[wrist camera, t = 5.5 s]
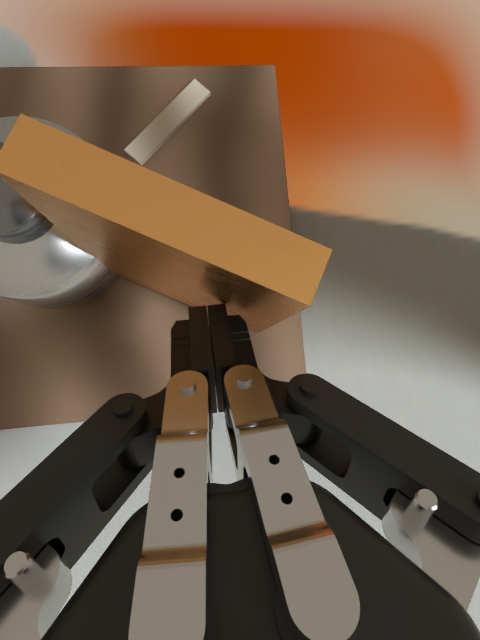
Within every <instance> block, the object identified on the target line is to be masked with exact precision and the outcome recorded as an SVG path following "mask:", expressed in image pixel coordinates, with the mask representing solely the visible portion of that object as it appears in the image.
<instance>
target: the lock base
mask: <svg viewBox="0 0 480 640" xmlns="http://www.w3.org/2000/svg"><path fill="white" fill-rule="evenodd" d="M20 114H23V115H26V116H28V117H34V118H39V119H43V120H47V121H50V122H53V123H56V124H58V125H60V126H62V127H64V128H66V129H68V130H70V131H71V132H73V133H74V134H76V135H77V136H79V137H80V138H81V139H82V140H83V141H85V142H88V143H90V144H92V145H94V146H97V147H99V148H101V149H104V150H106V151H108V152H110V153H113V154H115V155H117V156H120V157H122V158H124V159H126V160H129V161H131V162H133V163H136V164H138V165H140V166H142V167H145V168H147V169H149V170H152V171H154V172H156V173H159V174H161V175H163V176H165V177H168V178H170V179H172V180H175V181H177V182H179V183H181V184H184V185H186V186H188V187H191V188H193V189H195V190H197V191H200V192H202V193H204V194H207V195H209V196H211V197H213V198H216V199H218V200H220V201H223V202H225V203H227V204H229V205H232V206H234V207H236V208H239V209H241V210H243V211H245V212H248V213H250V214H252V215H255V216H257V217H259V218H261V219H264V220H266V221H268V222H271V223H273V224H275V225H278V226H280V227H282V228H284V229H287V230H289V231H291V232H292V230H291V220H290V210H289V200H288V191H287V180H286V171H285V161H284V151H283V141H282V131H281V121H280V111H279V102H278V92H277V82H276V72H275V65H253V66H251V65H243V66H242V65H238V66H130V67H129V66H128V67H127V66H123V67H8V68H0V117H9V116H19V115H20ZM188 307H193V306H190V305H188V304H186V303H183V302H181V301H179V300H176V299H174V298H171V297H169V296H167V295H164V294H162V293H160V292H157V291H155V290H153V289H150V288H148V287H145V286H143V285H141V284H138V283H136V282H134V281H131V280H129V279H127V278H124V277H122V276H119V275H118V276H117V277H116V278H115V280H114V281H113V282H112V283H111V284H110V285H109V286H108V287H107V288H106V289H105V290H103V291H102V292H101V293H100V294H98V295H96V296H95V297H93V298H91V299H89V300H87V301H85V302H83V303H80V304H77V305H73V306H69V307H63V308H40V307H35V306H31V305H27V304H24V303H21V302H18V301H14V300H11V299H8V298H4V297H1V296H0V430H1V429H12V428H22V427H32V426H42V425H53V424H63V423H73V422H83V421H86V420H87V419H88V418H90V417H91V416H92V415H93V414H94V413H95V412H96V411H97V410H98V409H99V408H100V407H101V406H103V405H104V404H105V403H106V402H107V401H108V400H109V399H111V398H112V397H114V396H116V395H119V394H123V393H134V394H137V395H139V396H141V397H142V398H143V399H144V398H147V397H149V396H152V395H154V394H157V393H158V392H160V391H161V390H163V389H164V388H165V387H166V386H167V383H168V381H169V380H170V377H171V328H172V327H173V325H174V323H175V322H176V321H177V320H188V319H189V312H188ZM207 317H208V313H207ZM208 325H209V323H208ZM248 331H249V330H248ZM249 335H250V340H251V343H252V347H253V350H254V354H255V358H256V362H257V366H258V368H259V370H260V371H261V372H262V373H263V374H264V375H265V376H267V377H268V378H271V379H273V380H278V381H284V382H289V381H290V380H291V379H292V378H293V377H294V376H296V375H299V374H306V368H305V358H304V348H303V338H302V328H301V318H300V312H298V313H296V314H294V315H292V316H290V317H289V318H287V319H285V320H283V321H281V322H279V323H277V324H275V325H273V326H271V327H269V328H267V329H265V330H264V331H262V332H260V333H258V334H256V333H254V332H252V331H249ZM215 390H216V387H215ZM216 405H217V408H218V403H217V395H216Z"/></svg>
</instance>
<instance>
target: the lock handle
mask: <svg viewBox="0 0 480 640" xmlns="http://www.w3.org/2000/svg"><path fill="white" fill-rule="evenodd" d="M331 252H332V249H330V248H328V247H326V246H323V245H321V244H319V243H316V242H314V241H312V240H310V239H307V238H305V237H303V236H300V235H298V234H296V233H294V232H291V231H289V230H287V229H284V228H282V227H280V226H278V225H275V224H273V223H271V222H268V221H266V220H264V219H261V218H259V217H257V216H255V215H252V214H250V213H248V212H245V211H243V210H241V209H239V208H236V207H234V206H232V205H229V204H227V203H225V202H223V201H220V200H218V199H216V198H213V197H211V196H209V195H207V194H204V193H202V192H200V191H197V190H195V189H193V188H191V187H188V186H186V185H184V184H181V183H179V182H177V181H175V180H172V179H170V178H168V177H165V176H163V175H161V174H159V173H156V172H154V171H152V170H149V169H147V168H145V167H142V166H140V165H138V164H136V163H133V162H131V161H129V160H126V159H124V158H122V157H120V156H117V155H115V154H113V153H110V152H108V151H106V150H104V149H101V148H99V147H97V146H94V145H92V144H90V143H88V142H85V141H83V140H82V139H81V138H80V137H79V136H77V135H76V134H74V133H73V132H71V131H70V130H68V129H66V128H64V127H62V126H60V125H58V124H56V123H53V122H50V121H47V120H43V119H39V118H34V117H28V116H26V115H23V114H20V115H19V116H9V117H0V296H1V297H4V298H8V299H11V300H14V301H18V302H21V303H24V304H27V305H31V306H35V307H40V308H63V307H69V306H73V305H77V304H80V303H83V302H85V301H87V300H89V299H91V298H93V297H95V296H96V295H98V294H100V293H101V292H102V291H103V290H105V289H106V288H107V287H108V286H109V285H110V284H111V283H112V282H113V281H114V280H115V278H116V277H117V276H118V275H119V276H122V277H124V278H127V279H129V280H131V281H134V282H136V283H138V284H141V285H143V286H145V287H148V288H150V289H153V290H155V291H157V292H160V293H162V294H164V295H167V296H169V297H171V298H174V299H176V300H179V301H181V302H183V303H186V304H188V305H190V306H193V307H194V306H205V305H206V309H207V305H215V304H225V305H226V310H227V315H228V316H231V315H240V316H241V317H242V318H243V319H244V320H245V321H246V323H247V327H248V330H249V331H252V332H254V333H256V334H258V333H260V332H262V331H264V330H265V329H267V328H269V327H271V326H273V325H275V324H277V323H279V322H281V321H283V320H285V319H287V318H289V317H290V316H292V315H294V314H296V313H298V312H300V311H302V310H304V309H306V308H308V307H310V306H311V303H312V301H313V298H314V296H315V293H316V291H317V288H318V285H319V283H320V280H321V278H322V275H323V273H324V270H325V268H326V265H327V262H328V260H329V257H330V255H331ZM207 313H208V309H207Z"/></svg>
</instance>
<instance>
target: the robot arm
mask: <svg viewBox="0 0 480 640" xmlns="http://www.w3.org/2000/svg"><path fill="white" fill-rule="evenodd" d="M207 309H208V317H207ZM207 309H206V305H205V306H194V307H188V312H189V319H188V320H177V321H176V322H175V323H174V325H173V327H172V328H171V377H170V380H169V381H168V383H167V386H166V387H165V388H164V389H163V390H161V391H160V392H158V393H157V394H154V395H152V396H149V397H147V398H144V399H143V398H142V397H141V396H139V395H137V394H134V393H123V394H119V395H116V396H114V397H112V398H111V399H109V400H108V401H107V402H106V403H105V404H104V405H103V406H101V407H100V408H99V409H98V410H97V411H96V412H95V413H94V414H93V415H92V416H91V417H90V418H88V419H87V420H86V421H85V422H84V423H83V424H82V425H81V426H80V427H79V428H78V429H77V430H76V431H74V432H73V433H72V434H71V435H70V436H69V437H68V438H67V439H66V440H65V441H64V442H63V443H61V444H60V445H59V446H58V447H57V448H56V449H55V450H54V451H53V452H52V453H51V454H50V455H49V456H47V457H46V458H45V459H44V460H43V461H42V462H41V463H40V464H39V465H38V466H37V467H36V468H35V469H33V470H32V471H31V472H30V473H29V474H28V475H27V476H26V477H25V478H24V479H23V480H22V481H20V482H19V483H18V484H17V485H16V486H15V487H14V488H13V489H12V490H11V491H10V492H9V493H8V494H6V495H5V496H4V497H3V498H2V499H1V500H0V640H480V632H479V630H478V628H477V626H476V625H475V623H474V621H473V620H472V618H471V617H470V615H469V614H468V613H467V609H468V606H469V604H470V601H471V598H472V596H473V593H474V591H475V588H476V585H477V583H478V580H479V577H480V473H478V472H477V471H475V470H473V469H472V468H470V467H468V466H467V465H465V464H464V463H462V462H460V461H459V460H457V459H455V458H454V457H452V456H450V455H449V454H447V453H445V452H444V451H442V450H440V449H439V448H437V447H435V446H434V445H432V444H430V443H429V442H427V441H425V440H424V439H422V438H420V437H419V436H417V435H415V434H414V433H412V432H410V431H409V430H407V429H405V428H404V427H402V426H400V425H399V424H397V423H395V422H394V421H392V420H390V419H389V418H387V417H385V416H384V415H382V414H380V413H379V412H377V411H375V410H374V409H372V408H370V407H369V406H367V405H365V404H364V403H362V402H360V401H359V400H357V399H355V398H354V397H352V396H350V395H349V394H347V393H345V392H344V391H342V390H340V389H339V388H337V387H335V386H334V385H332V384H330V383H329V382H327V381H325V380H324V379H322V378H320V377H319V376H316V375H313V374H299V375H296V376H294V377H293V378H292V379H291V380H290V381H289V382H284V381H278V380H273V379H271V378H268V377H267V376H265V375H264V374H263V373H262V372H261V371H260V370H259V368H258V366H257V362H256V358H255V354H254V350H253V347H252V343H251V340H250V335H249V331H248V327H247V323H246V321H245V320H244V319H243V318H242V317H241V316H240V315H231V316H228V315H227V310H226V305H225V304H215V305H207ZM208 323H209V325H208ZM215 387H216V390H215ZM216 395H217V403H218V411H219V412H225V419H226V432H227V436H228V441H229V445H230V449H231V454H232V458H233V462H234V467H235V471H236V476H237V482H234V483H232V484H217V483H213V468H212V428H213V416H212V413H217V405H216ZM301 459H302V460H304V461H305V462H306V463H308V464H309V465H310V466H312V467H313V468H314V469H315V470H317V471H318V472H319V473H321V474H322V475H323V476H325V477H326V478H327V479H328V480H330V481H331V482H332V483H334V484H335V485H336V486H338V487H339V488H340V489H341V490H343V491H344V492H345V493H347V494H348V495H349V496H351V497H352V498H353V499H354V500H356V501H357V502H358V503H360V504H361V505H362V506H364V507H365V508H366V509H367V510H369V511H370V512H371V513H373V514H374V515H375V516H377V517H378V518H379V519H380V520H382V528H383V531H384V534H385V536H386V538H387V540H388V541H387V540H386V539H385V538H384V537H383V536H381V535H380V534H379V533H378V532H377V531H375V530H374V529H373V528H372V527H371V526H370V525H368V524H367V523H366V522H365V521H364V520H362V519H361V518H360V517H359V516H358V515H356V514H355V513H354V512H353V511H352V510H351V509H349V508H348V507H347V506H346V505H345V504H343V503H342V502H341V501H340V500H339V499H337V498H336V497H335V496H334V495H333V494H331V493H330V492H329V491H328V490H326V489H325V488H323V487H321V486H320V485H318V484H316V483H314V482H311V481H309V478H308V475H307V473H306V470H305V468H304V465H303V463H302V460H301ZM152 468H153V469H152ZM151 469H152V477H151V485H150V493H149V501H148V503H147V504H145V505H144V506H143V507H141V508H140V509H139V510H138V511H136V512H135V513H134V514H133V515H132V516H131V517H130V519H129V520H128V521H127V522H126V523H125V525H124V526H123V527H122V529H121V530H120V531H119V533H118V534H117V535H116V537H115V538H114V540H113V541H112V542H111V544H110V545H109V546H108V548H107V549H106V551H105V552H104V553H103V555H102V556H101V557H100V559H99V560H98V562H97V563H96V564H95V566H94V567H93V568H92V570H91V571H90V573H89V574H88V575H87V577H86V578H85V579H84V581H83V582H82V584H81V585H80V586H79V588H78V589H77V590H76V592H75V593H74V595H73V596H72V597H71V599H70V600H69V601H68V603H67V604H66V606H65V607H64V608H63V610H62V611H61V612H60V614H59V611H60V610H61V608H62V606H63V605H64V603H65V602H66V600H67V598H68V596H69V593H70V590H71V586H72V575H71V571H70V569H71V568H72V567H73V566H74V564H75V563H76V562H77V561H78V559H79V558H80V557H81V556H82V555H83V553H84V552H85V551H86V550H87V548H88V547H89V546H90V545H91V543H92V542H93V541H94V540H95V538H96V537H97V536H98V535H99V534H100V532H101V531H102V530H103V529H104V527H105V526H106V525H107V524H108V522H109V521H110V520H111V519H112V518H113V516H114V515H115V514H116V513H117V511H118V510H119V509H120V508H121V506H122V505H123V504H124V503H125V501H126V500H127V499H128V498H129V497H130V495H131V494H132V493H133V492H134V490H135V489H136V488H137V487H138V485H139V484H140V483H141V482H142V480H143V479H144V478H145V477H146V476H147V474H148V473H149V472H150V471H151ZM58 614H59V615H58ZM57 616H58V617H57Z"/></svg>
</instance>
